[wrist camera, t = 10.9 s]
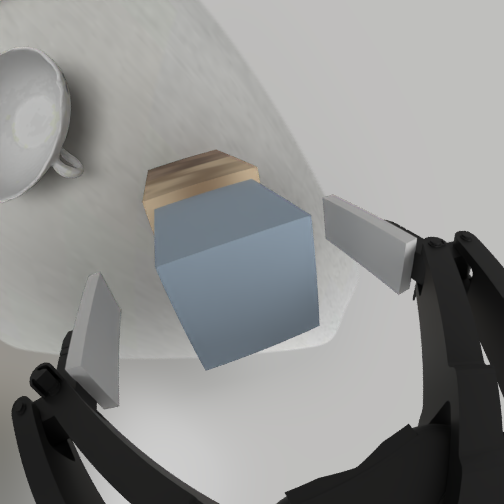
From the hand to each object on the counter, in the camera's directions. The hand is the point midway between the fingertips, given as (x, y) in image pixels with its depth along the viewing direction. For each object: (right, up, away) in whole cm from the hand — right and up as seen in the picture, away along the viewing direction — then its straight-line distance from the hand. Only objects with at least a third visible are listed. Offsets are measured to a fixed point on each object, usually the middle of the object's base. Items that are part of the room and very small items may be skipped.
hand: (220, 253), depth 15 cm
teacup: (-19, +12, +4) cm, 23 cm away
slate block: (-1, +1, +2) cm, 3 cm away
